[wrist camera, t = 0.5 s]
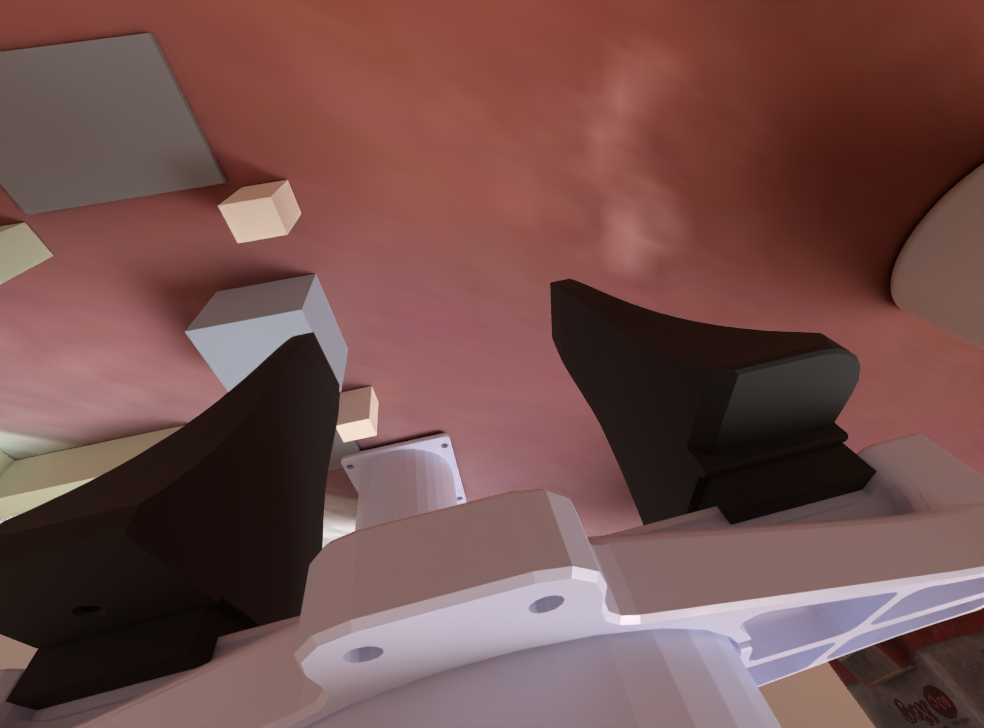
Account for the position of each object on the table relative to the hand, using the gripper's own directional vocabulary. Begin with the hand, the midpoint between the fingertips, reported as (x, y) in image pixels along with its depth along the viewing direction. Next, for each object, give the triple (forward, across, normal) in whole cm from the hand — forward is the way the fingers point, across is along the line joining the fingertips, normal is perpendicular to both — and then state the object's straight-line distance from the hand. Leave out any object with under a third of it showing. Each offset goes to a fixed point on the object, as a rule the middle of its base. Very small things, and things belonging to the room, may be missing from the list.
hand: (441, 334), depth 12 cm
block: (+10, +8, +4) cm, 14 cm away
